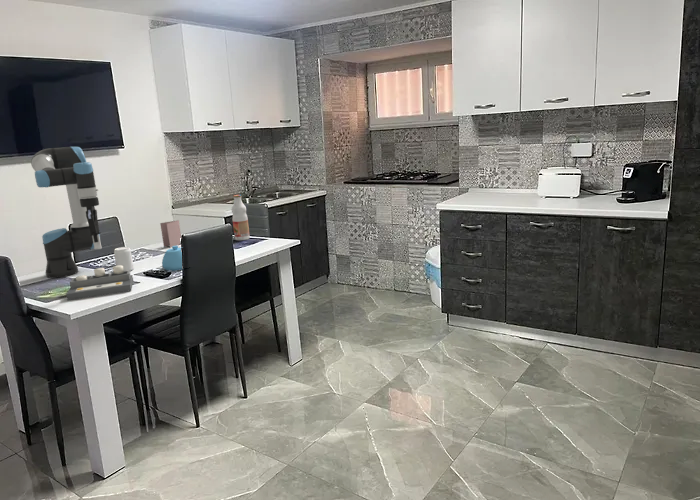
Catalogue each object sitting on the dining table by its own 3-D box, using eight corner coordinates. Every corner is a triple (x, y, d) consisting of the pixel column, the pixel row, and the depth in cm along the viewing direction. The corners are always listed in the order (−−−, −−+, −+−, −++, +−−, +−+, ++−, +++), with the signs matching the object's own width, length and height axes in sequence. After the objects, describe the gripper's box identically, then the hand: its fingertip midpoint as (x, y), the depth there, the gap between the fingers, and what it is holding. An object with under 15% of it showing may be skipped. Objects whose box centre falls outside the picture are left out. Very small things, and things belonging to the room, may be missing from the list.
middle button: (95, 274, 245) (94, 268, 245) (106, 273, 247) (104, 267, 246) (94, 277, 241) (93, 270, 241) (105, 275, 243) (103, 269, 242)
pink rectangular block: (181, 243, 336) (178, 220, 332) (185, 245, 330) (181, 221, 326) (163, 246, 329) (159, 222, 326) (166, 248, 323) (163, 224, 320)
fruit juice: (247, 240, 331) (242, 195, 324) (233, 241, 332) (227, 196, 325) (251, 237, 340) (246, 193, 333) (237, 237, 341) (232, 194, 334)
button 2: (114, 272, 248) (113, 266, 247) (124, 270, 249) (123, 264, 248) (113, 274, 244) (112, 268, 243) (123, 273, 245) (122, 266, 244)
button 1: (77, 282, 244) (76, 276, 243) (88, 281, 245) (87, 274, 244) (76, 285, 240) (75, 278, 239) (86, 283, 241) (85, 277, 240)
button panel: (74, 289, 247) (71, 277, 246) (133, 280, 255) (131, 268, 254) (67, 300, 231) (64, 287, 229) (131, 291, 238) (128, 278, 237)
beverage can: (128, 272, 271) (124, 250, 268) (114, 273, 273) (110, 250, 270) (137, 268, 279) (133, 246, 276) (123, 268, 280) (119, 246, 278)
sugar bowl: (198, 265, 276) (195, 244, 273) (172, 273, 265) (169, 250, 262) (183, 262, 286) (180, 241, 283) (157, 269, 275) (154, 247, 272)
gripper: (95, 198, 231) (104, 250, 236) (100, 195, 243) (109, 245, 248) (76, 199, 229) (86, 252, 234) (82, 196, 241) (91, 247, 246)
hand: (98, 248), depth 241 cm, fingers closed
